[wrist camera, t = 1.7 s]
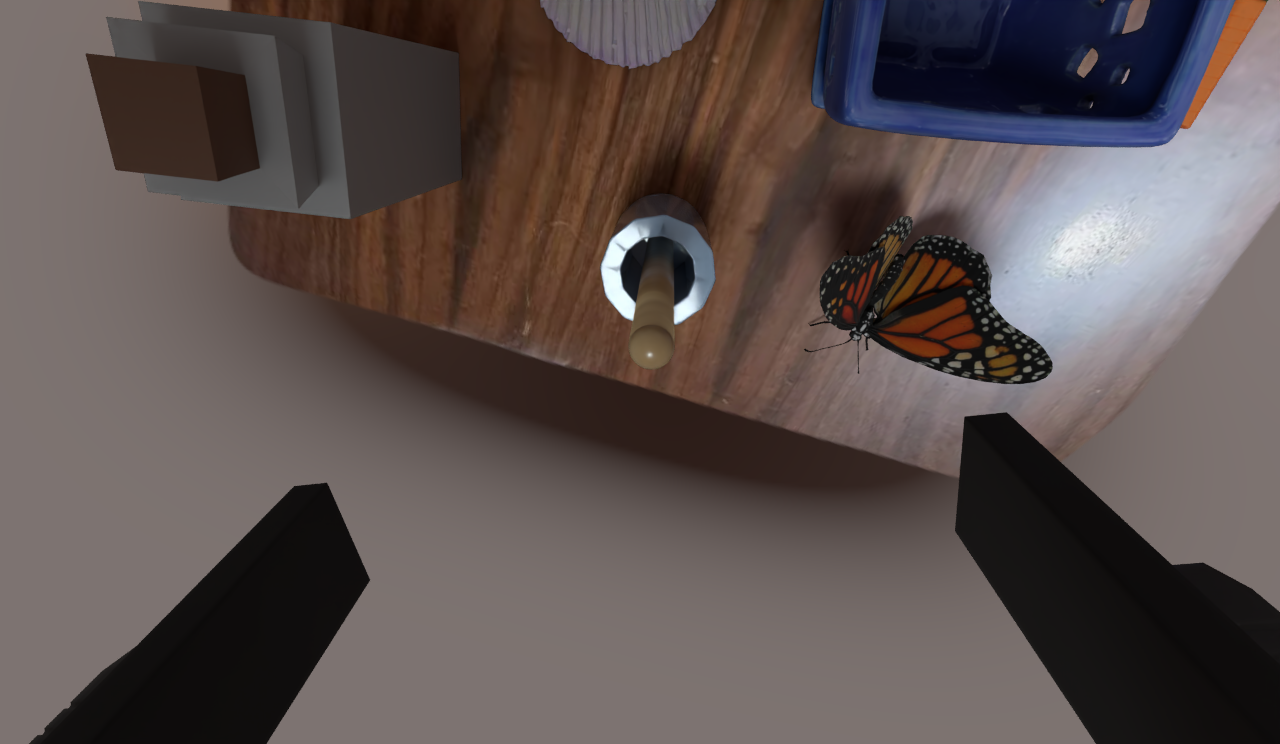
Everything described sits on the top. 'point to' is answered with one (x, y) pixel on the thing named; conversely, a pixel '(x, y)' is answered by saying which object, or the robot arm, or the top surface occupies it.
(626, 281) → the holder
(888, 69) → the flower pot
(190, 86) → the perfume bottle
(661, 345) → the stick
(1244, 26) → the magnifying glass
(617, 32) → the seashell
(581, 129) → the top surface
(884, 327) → the butterfly
